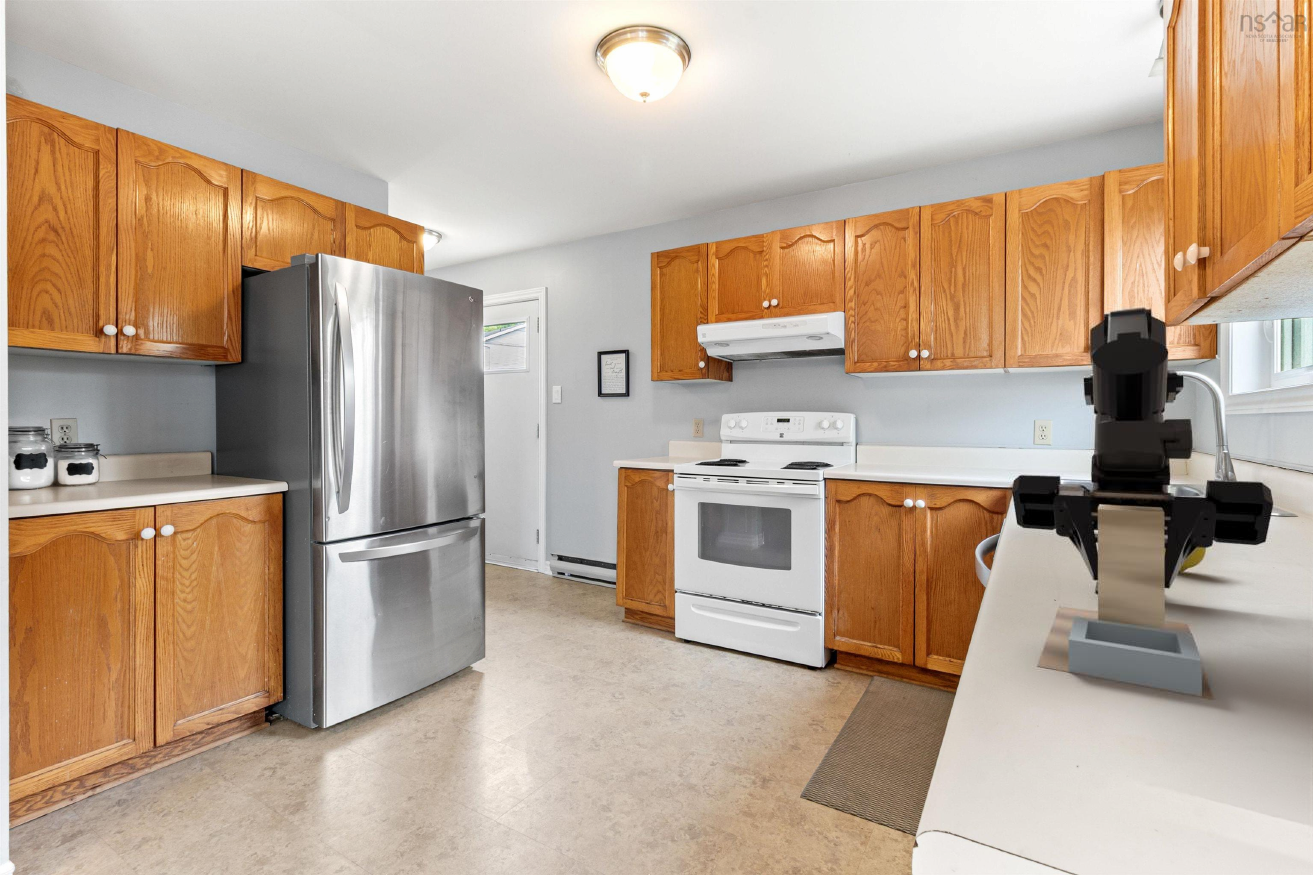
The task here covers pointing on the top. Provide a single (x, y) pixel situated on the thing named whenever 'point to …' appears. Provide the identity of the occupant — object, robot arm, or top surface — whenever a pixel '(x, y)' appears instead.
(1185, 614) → the top surface
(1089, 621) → the slate socket block
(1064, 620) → the tan flat plate
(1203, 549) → the lemon
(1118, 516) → the beech pillar
